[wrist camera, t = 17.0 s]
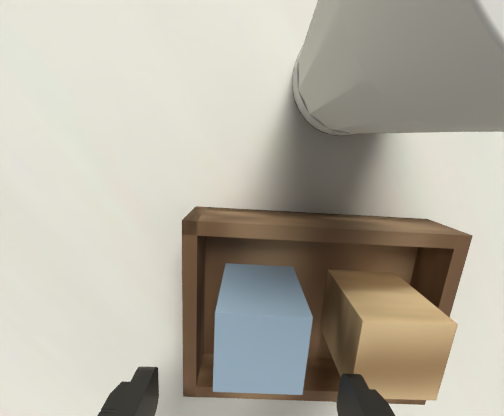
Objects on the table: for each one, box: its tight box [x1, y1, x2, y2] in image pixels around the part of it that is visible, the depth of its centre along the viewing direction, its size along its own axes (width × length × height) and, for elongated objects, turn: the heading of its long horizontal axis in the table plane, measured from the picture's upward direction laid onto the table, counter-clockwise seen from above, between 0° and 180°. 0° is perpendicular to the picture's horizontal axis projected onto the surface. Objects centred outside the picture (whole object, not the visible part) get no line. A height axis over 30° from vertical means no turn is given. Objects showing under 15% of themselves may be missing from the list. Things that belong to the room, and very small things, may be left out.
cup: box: [293, 0, 504, 135], centre depth 8 cm, size 8×8×12 cm
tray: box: [182, 207, 472, 405], centre depth 15 cm, size 16×12×3 cm
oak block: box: [320, 269, 458, 400], centre depth 14 cm, size 4×4×5 cm
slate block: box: [213, 263, 313, 395], centre depth 14 cm, size 4×4×5 cm
